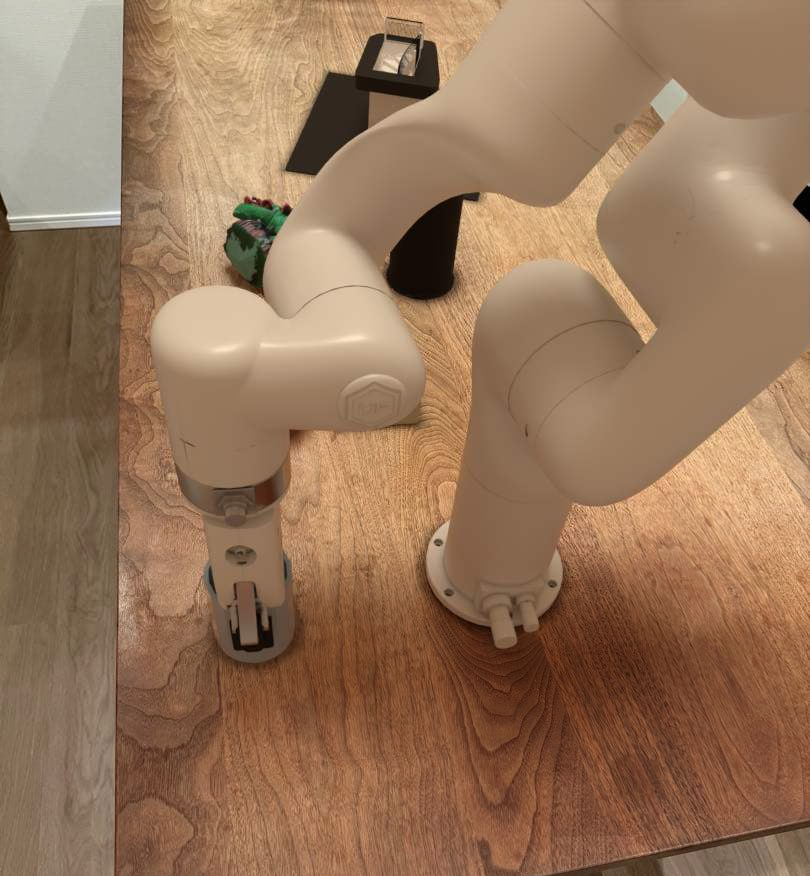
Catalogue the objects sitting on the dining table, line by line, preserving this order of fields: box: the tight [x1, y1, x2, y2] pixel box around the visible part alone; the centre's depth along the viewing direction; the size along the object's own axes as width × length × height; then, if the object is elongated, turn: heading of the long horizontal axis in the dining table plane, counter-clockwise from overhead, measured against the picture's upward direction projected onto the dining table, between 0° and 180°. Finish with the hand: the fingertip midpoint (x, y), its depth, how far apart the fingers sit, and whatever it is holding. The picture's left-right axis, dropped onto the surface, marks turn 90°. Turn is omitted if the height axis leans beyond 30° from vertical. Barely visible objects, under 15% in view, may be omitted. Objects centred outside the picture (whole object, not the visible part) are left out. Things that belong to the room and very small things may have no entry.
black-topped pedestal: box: [284, 14, 481, 201], centre depth 120 cm, size 28×26×13 cm
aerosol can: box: [386, 194, 465, 300], centre depth 98 cm, size 8×8×20 cm
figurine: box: [222, 195, 294, 288], centre depth 102 cm, size 12×13×15 cm
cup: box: [203, 549, 296, 664], centre depth 72 cm, size 7×7×8 cm
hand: (251, 605), depth 72 cm, fingers closed on cup, 6 cm apart
